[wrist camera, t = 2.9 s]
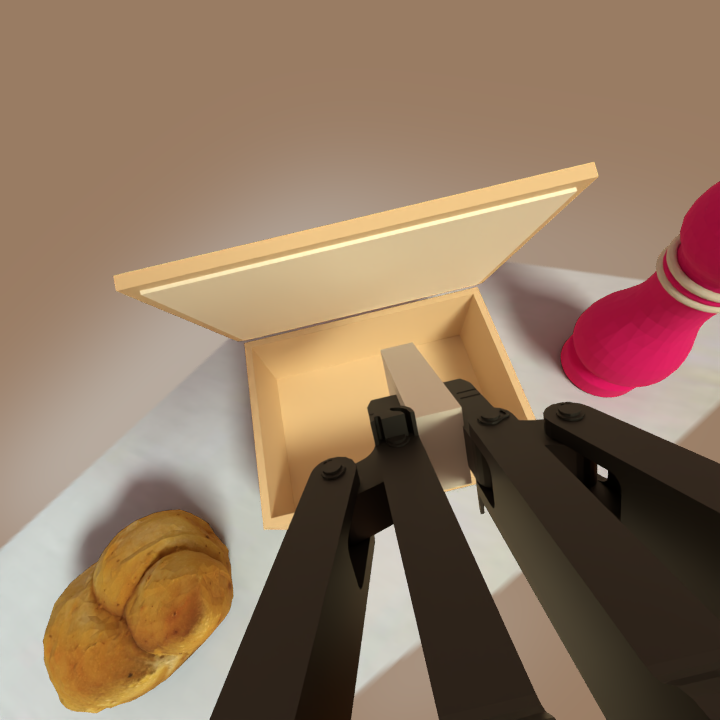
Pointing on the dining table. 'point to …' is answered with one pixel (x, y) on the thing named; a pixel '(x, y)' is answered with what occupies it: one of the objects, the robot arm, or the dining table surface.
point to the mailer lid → (357, 260)
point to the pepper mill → (651, 312)
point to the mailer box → (360, 385)
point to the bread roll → (137, 611)
